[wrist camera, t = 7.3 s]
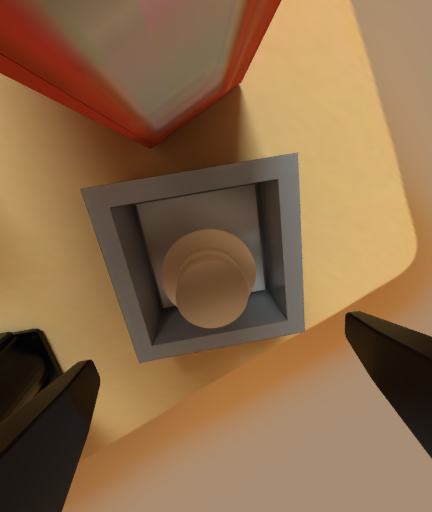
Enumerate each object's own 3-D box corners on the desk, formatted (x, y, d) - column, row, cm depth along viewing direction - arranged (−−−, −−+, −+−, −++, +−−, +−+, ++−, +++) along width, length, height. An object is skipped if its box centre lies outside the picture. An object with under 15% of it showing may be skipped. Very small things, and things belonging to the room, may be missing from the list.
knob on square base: (263, 286, 21) (302, 351, 13) (164, 304, 21) (146, 381, 13) (252, 183, 18) (295, 191, 10) (137, 203, 18) (94, 226, 10)
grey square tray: (279, 295, 22) (304, 331, 17) (152, 318, 22) (139, 362, 17) (268, 158, 18) (297, 152, 13) (113, 184, 18) (80, 188, 13)
